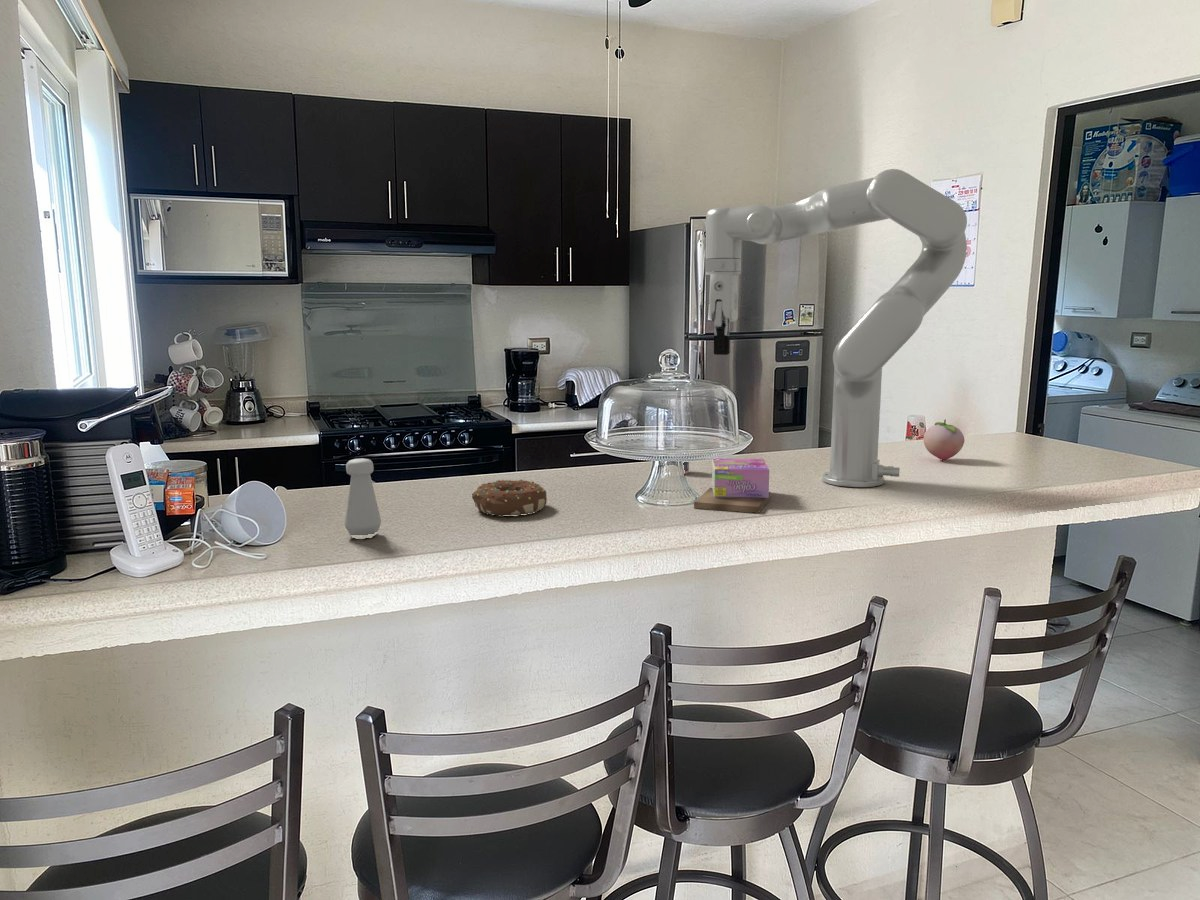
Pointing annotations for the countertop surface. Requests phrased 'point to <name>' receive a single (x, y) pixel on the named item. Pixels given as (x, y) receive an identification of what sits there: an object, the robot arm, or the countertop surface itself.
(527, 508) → the donut
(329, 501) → the countertop surface
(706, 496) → the board
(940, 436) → the decorative fruit
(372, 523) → the salt shaker
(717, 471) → the box
